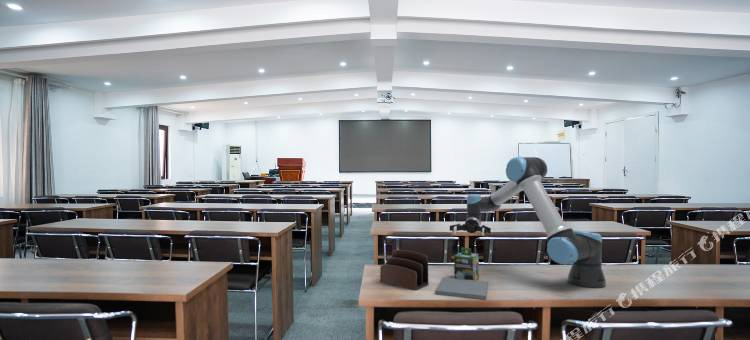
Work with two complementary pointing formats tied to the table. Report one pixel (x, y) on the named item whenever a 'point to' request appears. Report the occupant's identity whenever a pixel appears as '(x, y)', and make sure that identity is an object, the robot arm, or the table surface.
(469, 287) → the mat
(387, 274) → the letter holder
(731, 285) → the table surface
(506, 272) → the table surface
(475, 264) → the chalk box
